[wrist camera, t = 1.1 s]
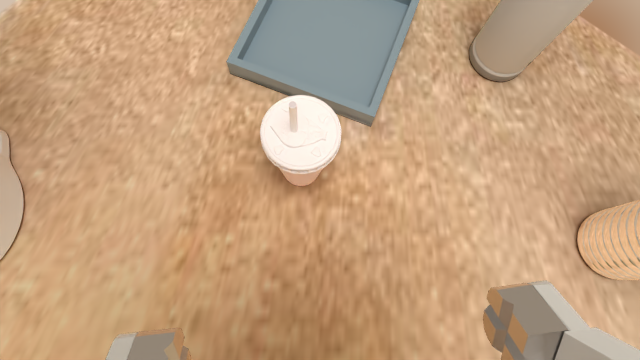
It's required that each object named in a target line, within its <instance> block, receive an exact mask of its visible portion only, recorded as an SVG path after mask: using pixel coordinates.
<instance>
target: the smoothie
mask: <svg viewBox="0 0 640 360" xmlns="http://www.w3.org/2000/svg"><path fill="white" fill-rule="evenodd" d="M260 136H261V143H262V148H263V150H264V152H265V154H266V156H267V158H268V159H269V160H270V161H271V162H272V163H273V164H274V165H275V166H277V167H279V169H280V170H281V172H282V173H283V175H284V176H285V178H286V179H287V180H288V181H289V182H290V183H291V184H293V185H296V186H306V185H309V184H311V183H312V182H313V181H315V179H316V178H317V177H318V175H319V173H320V172H321V170H322V169H323V168H324V167H325V166H327V165H328V164H329V163H330V162H331V161H332V160H333V159H334V157H335V156H336V154H337V152H338V150H339V147H340V143H341V126H340V122H339V119H338V117H337V115H336V114H335V112H334V111H333V110H332V108H331V107H330V106H329V105H327V104H326V103H325V102H323V101H321V100H320V99H317V98H315V97H312V96H306V95H295V96H290V97H286V98H284V99H282V100H280V101H278V102H277V103H275V104H274V105H273V106H272V107H271V108H270V109H269V110H268V111H267V113H266V114H265V116H264V118H263V120H262V124H261V129H260Z"/></svg>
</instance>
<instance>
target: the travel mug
mask: <svg viewBox="0 0 640 360" xmlns="http://www.w3.org/2000/svg"><path fill="white" fill-rule="evenodd" d="M592 1H593V0H501V1H500V3H499V4H498V5H497V7H496V8H495V10H494V11H493V13H492V14H491V16H490V17H489V19H488V20H487V22H486V23H485V24H484V26H483V27H482V29H481V30H480V32H479V33H478V35H477V36H476V38H475V39H474V41H473V42H472V44H471V46H470V49H469V56H470V61H471V63H472V65H473V67H474V69H475V70H476V71H477V72H478V73H479V74H481V75H482V76H483V77H485V78H487V79H490V80H493V81H509V80H511V79H514V78H515V77H517V76H518V75H519V74H520V73H521V72H522V71H523V70H524V69H525V68H526V67H527V66H528V65H529V64H530V63H531V62H532V61H533V60H534V59H535V58H536V57H537V56H538V55H539V54H540V53H541V52H542V51H543V50H544V49H545V48H546V47H547V46H548V45H549V44H550V43H551V42H552V41H553V40H554V39H555V38H556V37H557V36H558V35H559V34H560V33H561V32H562V31H563V30H564V29H565V28H566V27H567V26H568V25H569V24H570V23H571V22H572V21H573V20H574V19H575V18H576V17H577V16H578V15H579V14H580V13H581V12H582V11H583V10H584V9H585V8H586V7H587V6H588V5H589V4H590V3H591V2H592Z"/></svg>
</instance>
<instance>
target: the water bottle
mask: <svg viewBox="0 0 640 360" xmlns="http://www.w3.org/2000/svg"><path fill="white" fill-rule="evenodd" d="M577 243H578V248H579V251H580V254H581V256H582V258H583V259H584V261H585V262H586V264H587V265H588V266H589V267H590V268H591V269H592V270H594V271H595V272H597V273H598V274H600V275H602V276H604V277H607V278H610V279H615V280H640V200H637V201H633V202H629V203H626V204H622V205H618V206H615V207H611V208H607V209H604V210H601V211H598V212H596V213H594V214H592V215H590V216H589V217H587V218H586V219H585V220H584V221H583V222H582V224H581V226H580V228H579V230H578V235H577Z"/></svg>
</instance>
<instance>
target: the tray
mask: <svg viewBox="0 0 640 360" xmlns="http://www.w3.org/2000/svg"><path fill="white" fill-rule="evenodd" d="M418 3H419V0H259V1H258V2H257V4H256V6H255V8H254V10H253V12H252V14H251V16H250V18H249V20H248V22H247V23H246V25H245V27H244V29H243V31H242V33H241V35H240V37H239V39H238V41H237V43H236V44H235V46H234V48H233V50H232V52H231V54H230V56H229V58H228V60H227V65H228V68H229V71H230V74H233V75H235V76H238V77H241V78H243V79H246V80H249V81H251V82H254V83H257V84H259V85H262V86H265V87H267V88H270V89H273V90H275V91H278V92H281V93H283V94H286V95H289V96H295V95H306V96H312V97H315V98H317V99H320V100H321V101H323V102H325V103H326V104H327V105H329V106H330V107H331V108H332V110H333V111H334V112H335V113H336V114H339V115H342V116H344V117H347V118H350V119H352V120H355V121H358V122H360V123H363V124H366V125H368V126H371V124H372V122H373V120H374V117H375V115H376V112H377V109H378V107H379V104H380V102H381V99H382V96H383V94H384V91H385V89H386V86H387V83H388V81H389V78H390V76H391V73H392V70H393V68H394V65H395V62H396V60H397V57H398V55H399V52H400V49H401V47H402V44H403V42H404V39H405V36H406V34H407V31H408V29H409V26H410V23H411V21H412V18H413V16H414V13H415V10H416V8H417V5H418Z"/></svg>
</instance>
